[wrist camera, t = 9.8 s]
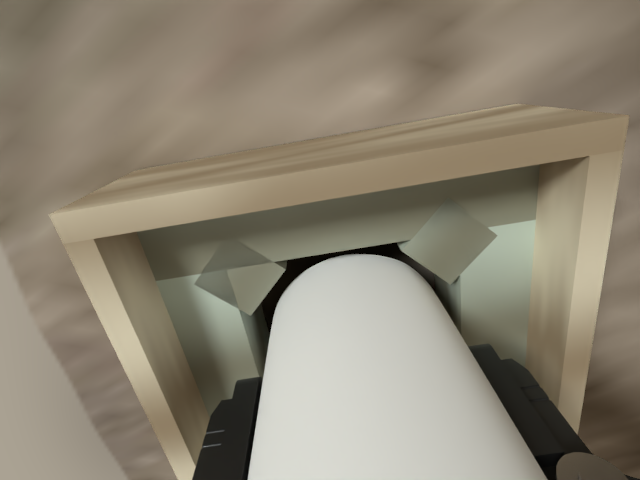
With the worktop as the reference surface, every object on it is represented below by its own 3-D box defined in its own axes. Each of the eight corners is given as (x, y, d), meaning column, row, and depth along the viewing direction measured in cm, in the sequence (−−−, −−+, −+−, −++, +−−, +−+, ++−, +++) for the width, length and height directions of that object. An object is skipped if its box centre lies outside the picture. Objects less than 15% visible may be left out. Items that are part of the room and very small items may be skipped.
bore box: (136, 170, 14) (48, 214, 9) (516, 103, 13) (629, 115, 8) (233, 433, 19) (209, 543, 15) (503, 394, 19) (567, 497, 14)
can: (464, 270, 14) (1126, 1071, 3) (403, 397, 16) (610, 1089, 5) (294, 228, 13) (210, 1160, 2) (257, 369, 15) (122, 1129, 4)
